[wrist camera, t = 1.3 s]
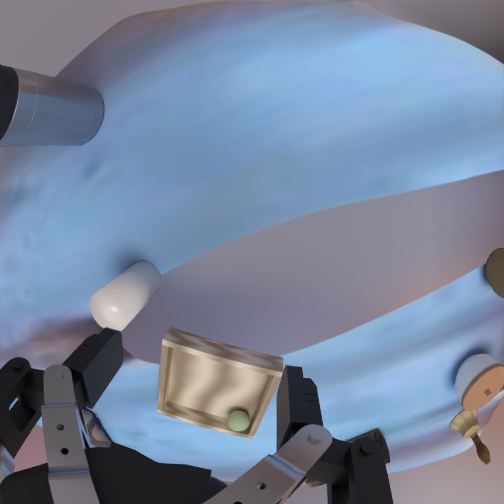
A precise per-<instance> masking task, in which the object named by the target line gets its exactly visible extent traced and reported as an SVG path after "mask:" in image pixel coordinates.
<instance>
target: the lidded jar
mask: <svg viewBox="0 0 504 504" xmlns="http://www.w3.org/2000/svg"><path fill="white" fill-rule="evenodd" d="M503 384H504V365H502V364H501V363H500V362H499V361H498V360H497V359H496V358H495V357H493V356H491V355H489V354H484V353H483V354H474V355H471V356H469V357H468V358H467V359H465V360H464V361H463V363H462V364H461V365H460V367H459V369H458V371H457V376H456V381H455V389H456V393H457V396H458V398H459V400H460V402H461V405H462V407H463V408H464V410H466V411H474V410H477V409H479V408H481V407H482V406H484V405H485V404H487V403H488V402H489V401H490V400H492V399H493V398H494V397H495V396H496V394H497V393H498V392H499V391H500V389H501V388H502V386H503Z"/></svg>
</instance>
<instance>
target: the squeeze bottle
mask: <svg viewBox="0 0 504 504" xmlns="http://www.w3.org/2000/svg"><path fill="white" fill-rule="evenodd" d="M485 275H486V278H487V280H488V282H489V283H490V285H491V287H492V289H493V290H494V292H495V293H496V294H497V295H498V296H500V297H502V298H504V248H498V249H496V250H494V251H493V252H492V253H491V254H490V256H489V258H488V260H487V262H486V266H485Z"/></svg>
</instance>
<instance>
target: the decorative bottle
mask: <svg viewBox="0 0 504 504" xmlns="http://www.w3.org/2000/svg"><path fill="white" fill-rule="evenodd" d="M82 410H83V413H84V417H85V422H86V426H87V430H88V434H89V438H90V442H91V445H92V447H110V445H111V442H110V440H109V439H108V438H107V436H106V435H105V433H104V432H103V431H102V429H101V425H100V423H99V422H98V420H97V419H96V418H95V416H94V415H93V414H92V413H91V412H90V411H88V410H87V409H85V408H82ZM98 423H99V424H98ZM99 425H100V426H99Z"/></svg>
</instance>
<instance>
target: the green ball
mask: <svg viewBox="0 0 504 504" xmlns="http://www.w3.org/2000/svg"><path fill="white" fill-rule="evenodd" d="M227 424H228V426H229V427H230V428H231V429H232V430H234V431H243V430H245V429H247V427H248V426H249V424H250V418H249V416H248V415H247V414H246V413H245V412H243V411H239V410H237V411H233V412H232V413H230V414H229V416H228V418H227Z"/></svg>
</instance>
